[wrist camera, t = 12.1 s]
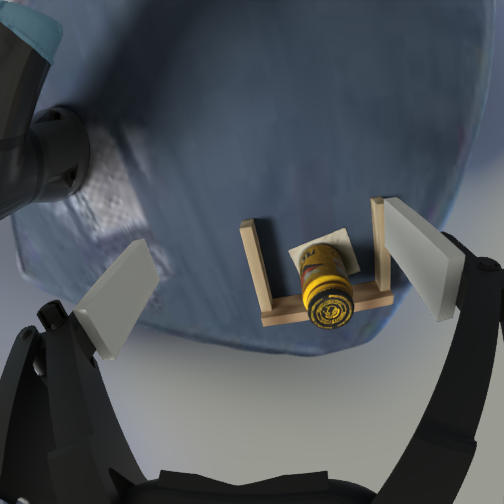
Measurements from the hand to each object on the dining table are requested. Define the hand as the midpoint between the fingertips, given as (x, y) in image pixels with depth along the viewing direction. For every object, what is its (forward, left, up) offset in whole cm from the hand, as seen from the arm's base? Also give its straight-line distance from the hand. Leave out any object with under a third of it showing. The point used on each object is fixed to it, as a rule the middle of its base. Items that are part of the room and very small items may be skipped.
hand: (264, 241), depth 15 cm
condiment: (+5, -14, -23) cm, 28 cm away
